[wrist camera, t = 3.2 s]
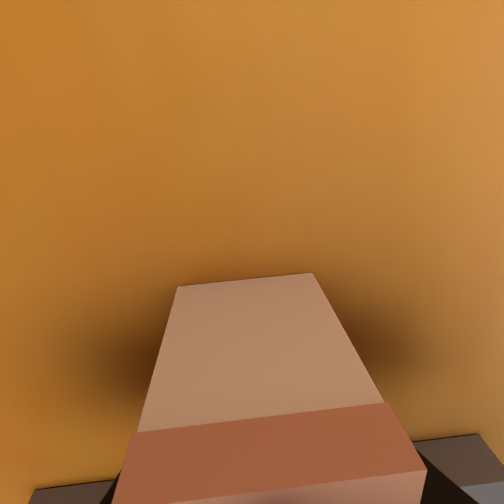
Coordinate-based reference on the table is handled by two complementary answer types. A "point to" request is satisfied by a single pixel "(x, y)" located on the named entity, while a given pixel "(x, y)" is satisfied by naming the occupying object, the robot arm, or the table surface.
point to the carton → (264, 406)
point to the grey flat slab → (436, 451)
